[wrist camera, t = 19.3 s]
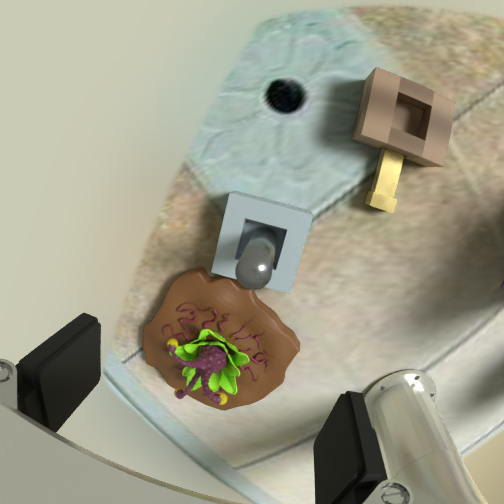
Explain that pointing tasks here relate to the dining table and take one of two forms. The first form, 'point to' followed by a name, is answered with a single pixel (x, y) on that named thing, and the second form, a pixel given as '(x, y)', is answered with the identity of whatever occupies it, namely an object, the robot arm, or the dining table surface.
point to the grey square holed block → (252, 217)
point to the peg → (257, 259)
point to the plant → (218, 341)
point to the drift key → (385, 181)
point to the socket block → (404, 118)
